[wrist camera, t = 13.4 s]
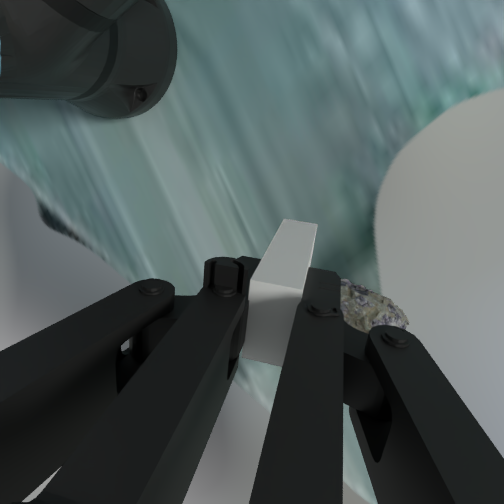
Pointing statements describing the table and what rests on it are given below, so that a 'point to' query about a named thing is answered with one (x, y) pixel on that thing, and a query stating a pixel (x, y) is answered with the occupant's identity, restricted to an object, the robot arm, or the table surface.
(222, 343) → the robot arm
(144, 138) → the table surface
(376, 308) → the mineral rock
